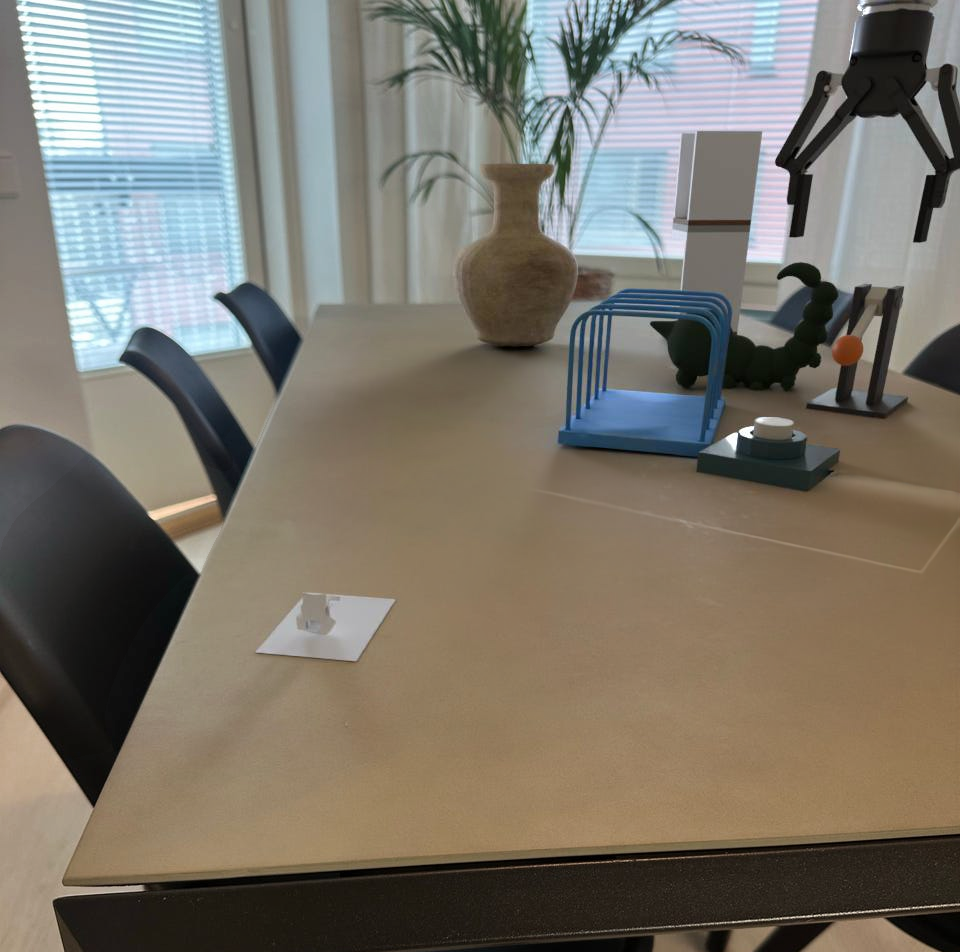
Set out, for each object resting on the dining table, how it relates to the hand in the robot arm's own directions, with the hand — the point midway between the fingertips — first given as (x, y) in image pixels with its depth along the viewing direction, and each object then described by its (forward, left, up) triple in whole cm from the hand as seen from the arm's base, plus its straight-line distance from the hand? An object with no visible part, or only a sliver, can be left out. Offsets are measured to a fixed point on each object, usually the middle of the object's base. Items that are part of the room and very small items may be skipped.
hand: (855, 239), depth 103 cm
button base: (0, +20, -22) cm, 29 cm away
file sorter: (+19, +11, -22) cm, 31 cm away
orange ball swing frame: (0, -14, -22) cm, 26 cm away
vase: (+67, -31, -22) cm, 77 cm away
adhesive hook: (+12, +75, -22) cm, 79 cm away
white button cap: (0, +20, -18) cm, 27 cm away
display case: (+42, -58, -22) cm, 75 cm away
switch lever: (0, -10, -12) cm, 16 cm away
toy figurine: (+19, -17, -22) cm, 34 cm away
